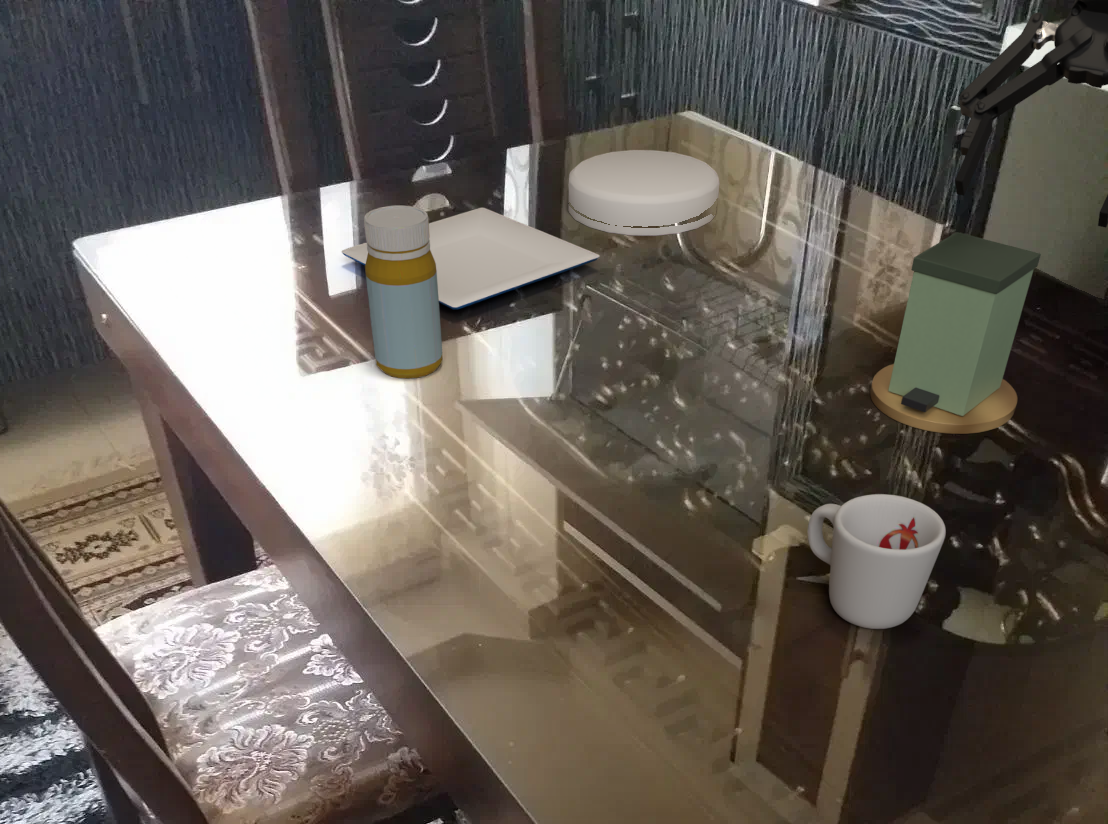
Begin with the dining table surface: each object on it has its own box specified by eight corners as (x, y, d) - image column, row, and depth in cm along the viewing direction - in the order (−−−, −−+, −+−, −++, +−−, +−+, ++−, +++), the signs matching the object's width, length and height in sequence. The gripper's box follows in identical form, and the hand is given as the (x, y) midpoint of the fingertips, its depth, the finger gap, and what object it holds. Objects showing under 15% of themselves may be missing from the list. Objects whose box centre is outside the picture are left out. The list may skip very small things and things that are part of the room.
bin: (926, 362, 118) (956, 231, 109) (1002, 387, 114) (1041, 253, 105) (872, 399, 112) (900, 264, 103) (951, 427, 108) (987, 289, 99)
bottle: (454, 358, 122) (445, 209, 111) (422, 385, 117) (409, 233, 107) (397, 346, 124) (383, 199, 113) (363, 373, 119) (345, 223, 109)
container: (644, 248, 144) (646, 209, 141) (537, 207, 154) (536, 170, 151) (748, 209, 153) (752, 172, 150) (640, 174, 164) (642, 138, 161)
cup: (769, 590, 91) (783, 502, 86) (834, 553, 95) (851, 467, 89) (878, 655, 85) (901, 565, 80) (943, 613, 89) (969, 524, 83)
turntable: (978, 363, 120) (981, 354, 119) (1039, 427, 110) (1042, 418, 109) (850, 373, 119) (852, 363, 118) (900, 439, 109) (902, 429, 108)
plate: (341, 266, 140) (339, 249, 138) (483, 222, 151) (482, 205, 149) (455, 324, 128) (454, 305, 126) (601, 271, 138) (601, 253, 137)
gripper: (1265, 27, 105) (1162, 252, 107) (996, -14, 114) (907, 194, 116) (1282, -28, 98) (1171, 214, 100) (994, -67, 107) (899, 155, 109)
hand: (1029, 204), depth 108 cm, fingers open, 13 cm apart
